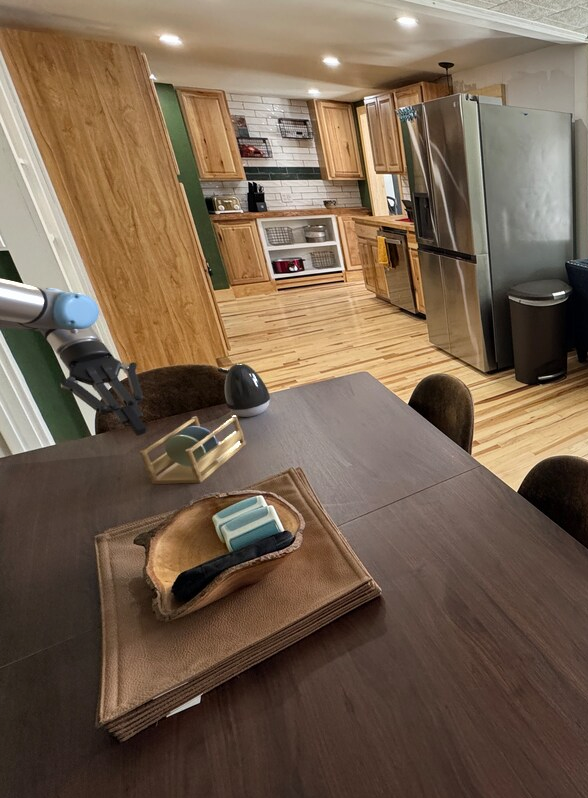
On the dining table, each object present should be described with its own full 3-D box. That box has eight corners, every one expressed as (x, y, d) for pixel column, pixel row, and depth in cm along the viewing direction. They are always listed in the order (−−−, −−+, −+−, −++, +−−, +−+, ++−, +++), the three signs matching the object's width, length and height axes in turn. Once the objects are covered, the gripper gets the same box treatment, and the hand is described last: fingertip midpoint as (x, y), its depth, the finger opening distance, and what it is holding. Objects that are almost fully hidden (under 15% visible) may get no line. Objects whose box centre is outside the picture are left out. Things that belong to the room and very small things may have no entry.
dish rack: (201, 482, 103) (187, 446, 100) (152, 484, 103) (136, 448, 99) (246, 444, 118) (236, 411, 114) (204, 445, 117) (192, 412, 114)
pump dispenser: (241, 406, 140) (226, 358, 135) (279, 403, 142) (266, 356, 136) (222, 422, 131) (205, 372, 125) (263, 419, 133) (248, 370, 127)
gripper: (38, 348, 99) (103, 437, 98) (119, 332, 110) (178, 412, 109) (40, 367, 103) (102, 452, 103) (118, 349, 114) (175, 426, 113)
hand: (141, 431), depth 106 cm, fingers closed
